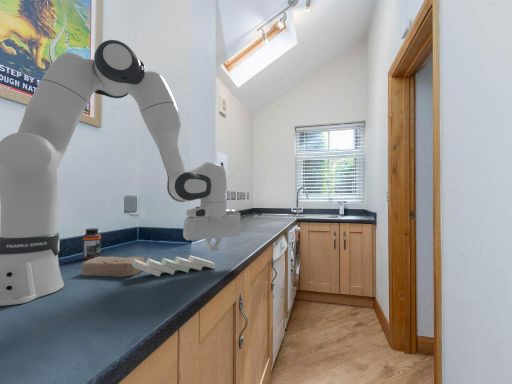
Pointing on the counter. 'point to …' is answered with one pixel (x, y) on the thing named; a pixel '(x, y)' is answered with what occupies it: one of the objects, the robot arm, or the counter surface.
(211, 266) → the domino
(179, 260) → the domino
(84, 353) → the counter surface
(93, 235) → the supplement bottle
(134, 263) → the domino
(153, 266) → the domino
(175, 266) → the pale green domino
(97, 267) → the brick
